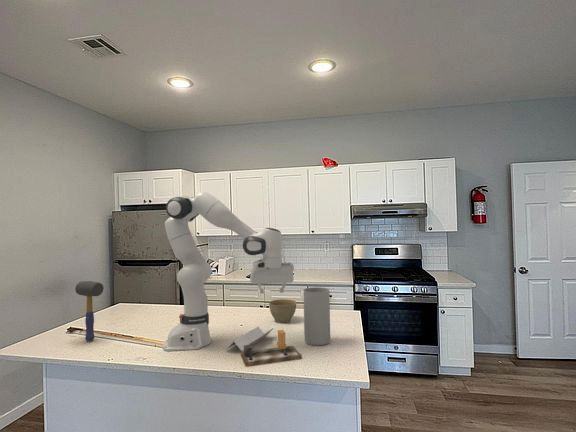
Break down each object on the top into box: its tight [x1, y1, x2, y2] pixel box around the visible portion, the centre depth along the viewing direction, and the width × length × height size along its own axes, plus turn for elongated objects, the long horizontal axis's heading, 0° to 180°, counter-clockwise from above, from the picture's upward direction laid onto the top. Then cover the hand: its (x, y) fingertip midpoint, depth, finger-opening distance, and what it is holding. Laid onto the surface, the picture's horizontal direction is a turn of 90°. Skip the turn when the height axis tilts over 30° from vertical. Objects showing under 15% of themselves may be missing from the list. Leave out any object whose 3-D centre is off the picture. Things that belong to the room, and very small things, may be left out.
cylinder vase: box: [303, 286, 331, 347], centre depth 166 cm, size 12×12×25 cm
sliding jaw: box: [276, 329, 287, 355], centre depth 149 cm, size 3×9×8 cm, turn 17°
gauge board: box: [240, 345, 303, 367], centre depth 148 cm, size 24×12×5 cm, turn 107°
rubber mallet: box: [74, 280, 104, 343], centre depth 173 cm, size 12×8×30 cm, turn 69°
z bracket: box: [224, 326, 274, 352], centre depth 164 cm, size 12×25×6 cm
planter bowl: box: [268, 298, 297, 324], centre depth 202 cm, size 16×16×11 cm
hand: (271, 292), depth 159 cm, fingers open, 8 cm apart
